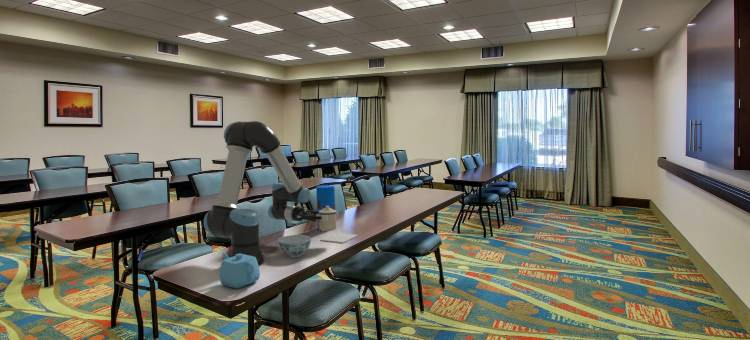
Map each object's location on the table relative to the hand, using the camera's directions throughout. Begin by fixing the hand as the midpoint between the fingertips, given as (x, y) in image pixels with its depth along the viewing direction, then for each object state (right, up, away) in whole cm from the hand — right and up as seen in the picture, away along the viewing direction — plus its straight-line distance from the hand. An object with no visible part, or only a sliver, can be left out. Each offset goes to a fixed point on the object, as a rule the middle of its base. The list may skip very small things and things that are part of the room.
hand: (332, 216), depth 205 cm
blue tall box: (-8, -12, +40) cm, 42 cm away
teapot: (-31, -20, -48) cm, 61 cm away
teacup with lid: (-4, -7, +3) cm, 8 cm away
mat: (+2, -13, +16) cm, 21 cm away
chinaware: (-16, -17, -13) cm, 27 cm away
